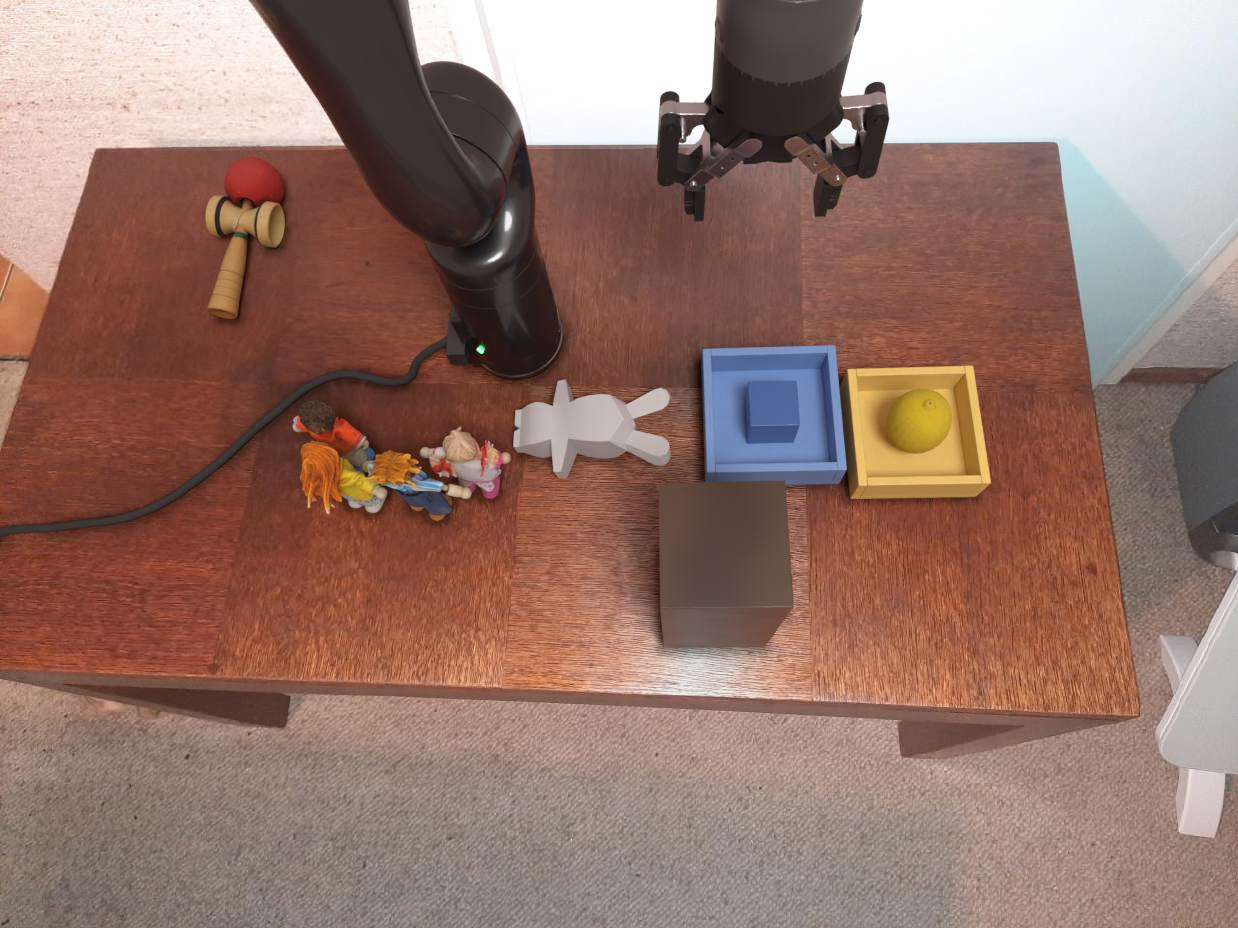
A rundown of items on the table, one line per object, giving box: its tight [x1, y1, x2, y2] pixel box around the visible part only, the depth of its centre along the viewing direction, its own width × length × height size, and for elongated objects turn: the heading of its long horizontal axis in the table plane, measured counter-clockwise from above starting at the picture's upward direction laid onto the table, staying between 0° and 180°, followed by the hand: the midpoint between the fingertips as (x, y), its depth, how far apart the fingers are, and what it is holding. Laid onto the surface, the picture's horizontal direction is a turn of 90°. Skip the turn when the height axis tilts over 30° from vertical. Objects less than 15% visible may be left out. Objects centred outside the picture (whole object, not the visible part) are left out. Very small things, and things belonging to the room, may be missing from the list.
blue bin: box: [700, 344, 847, 486], centre depth 82 cm, size 13×13×4 cm
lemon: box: [886, 388, 952, 454], centre depth 78 cm, size 6×6×8 cm
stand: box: [657, 481, 795, 649], centre depth 69 cm, size 9×9×20 cm
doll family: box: [292, 399, 512, 522], centre depth 77 cm, size 21×10×13 cm, turn 77°
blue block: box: [744, 381, 800, 444], centre depth 81 cm, size 4×4×4 cm
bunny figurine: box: [512, 378, 672, 480], centre depth 82 cm, size 10×5×15 cm
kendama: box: [204, 156, 286, 320], centre depth 92 cm, size 8×6×18 cm
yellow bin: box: [839, 365, 992, 500], centre depth 80 cm, size 12×12×4 cm
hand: (757, 209), depth 61 cm, fingers open, 8 cm apart
